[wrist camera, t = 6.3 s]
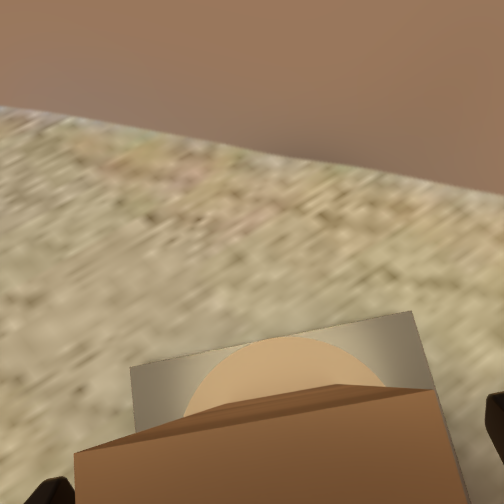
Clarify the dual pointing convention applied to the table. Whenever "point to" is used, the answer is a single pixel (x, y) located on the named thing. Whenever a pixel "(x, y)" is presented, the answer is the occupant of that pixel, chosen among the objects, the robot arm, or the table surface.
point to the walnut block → (284, 453)
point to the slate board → (285, 370)
